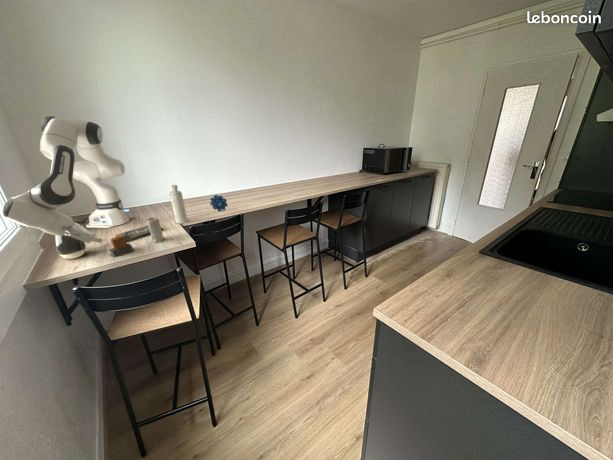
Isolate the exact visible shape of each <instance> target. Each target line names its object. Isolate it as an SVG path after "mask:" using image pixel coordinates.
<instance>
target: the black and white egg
mask: <svg viewBox="0 0 613 460" xmlns="http://www.w3.org/2000/svg"><path fill="white" fill-rule="evenodd" d="M54 245H55V250H56V252H57V254H58V255H59V256H60V257H62V258H63V259H67V260H74V259H78V258H79V257H81V256H83V255H84V254H85V253H86V251H87V249H86V248H87V245H86V242H84V241H81V240H78V239H75V238H73V237H71V236H69V235H62V236H60V237H58V236H55V235H54Z"/></svg>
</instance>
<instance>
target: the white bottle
mask: <svg viewBox="0 0 613 460" xmlns="http://www.w3.org/2000/svg"><path fill="white" fill-rule="evenodd" d="M170 189H171V191H169V192H170V193H169V198H170V202H171V206H172V211H173V214H174V218H175V223H176V224H185V223H187V222H188V221H189V220H188V216H187V210H186V206H185V201H184V197H183V193H182V191H181V190H178V189H179V188H178V185H177V184H171V185H170Z"/></svg>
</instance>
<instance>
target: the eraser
mask: <svg viewBox="0 0 613 460" xmlns="http://www.w3.org/2000/svg"><path fill="white" fill-rule="evenodd" d="M110 242H111V245H112V248H109V252H110V254H111V255H112V256H113V257H114V258H117V257H119V256H122V255H125V254H127V253H131V252H133V251H134V248H133V245H132V244H130V243H129V242H126V240H125V237H124V236H119V237H116V236H115V237H113V238H110Z"/></svg>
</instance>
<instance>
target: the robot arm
mask: <svg viewBox="0 0 613 460" xmlns="http://www.w3.org/2000/svg"><path fill="white" fill-rule="evenodd" d="M40 128H41V131H42V134H41V136H40V140H39V152H40V153H41V154H42V155H43V157H45V158H47V159H49V160H51V166H50V172H49V175H48V177H47V178H46V179H45V180H43V181H42V182H41V183H39V184H37V185H35V186H34V187H32V188H30V189H29V190H27V191H26V192H24V193H22V194H19V195H16V196H13V197H10V198H9V199H7V201H6V202H5V204H4V205H3V208H2V215H3V217H4V218H6V219H8V220H10V221H11V222H14V223H16V224H19V225H21V226H25V227H27V228H33V229H37V230H40V231H42V232H43V233H46V234H49V235H53V236H54V237H55V236H58V237H60V236H62V235H69V236H71V237H73V238H75V239H78V240H81V241H84V243H87V244H90V243H92V242H94V243H97V244H101V243H102V242H103V239H102V238H101V237H97V236H96V233H95V232H92V231H89V230H88V229H109V228H113V227H116V226H121V225H123V224H126V223H128V222H130V218H129V217H128V215H127V213H126V212H129V211H130V209H124V206H123V205H124V204H123V202H122V200H121V199H120V195H119V193H118V190H117V188H116V187H115V185H112V184H109V183H104V182H103V181H101V180H105V179H114V178H118V177H121V176H124V175H125V171H126V168H125V164H124V163H123V162H122V161H121V160H119V159H118V158H115V157H112V156H110V155H109V154H108V153H106V151H105V150H104V147H103V145H102V142H103V141H104V132H103V129H102V128H101V126H100V124H97V123H96V122H93V121H85V120H82V119H77V118H68V117H59V116H58V117H57V116H54V115H53V116H52V115H50V116H48V115H47V116H45V117H44V118H42V120H41V121H40ZM76 152H77V153H78V155H79V156H80V157H81V158H82V159H83V160H79V161H75V157H76ZM73 179H74V180H76V181H78V182H81V183H82V184H84V185H86V186H88V187H89V189H90V190H91V191H92V193H93V195H94V197H95V199H96V203H95V204H94V205H93V206H94V207H95V208H96V209H95V210H94V211H93V212H92V213H91V214H90V215H89V216H88V217H85V218H83V219H82V221H77V220H73V217H71V216H68V215H66V214H64V213H61V212H59V211H56V209H57V208H58V207H60V206H62V205H66V204H69V203H70V202H72V201H74V199H75V197H76V189H75V185H74V182H73ZM86 220H87V221H88V223H87V224H86V225H85V227H84V226H83V225H81V224H83V223H85V222H86Z"/></svg>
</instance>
